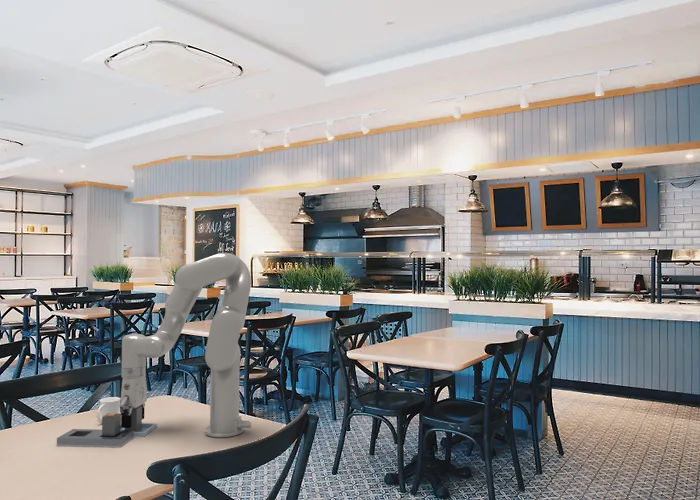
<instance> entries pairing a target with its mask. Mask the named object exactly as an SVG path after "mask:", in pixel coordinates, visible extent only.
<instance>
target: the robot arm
mask: <svg viewBox="0 0 700 500" xmlns="http://www.w3.org/2000/svg"><path fill="white" fill-rule="evenodd" d="M222 280H225V287H224V290H223V296H222V301H221V306H220V309H219V310H218V311H217V312H216V313H215V315H214V316H213V318H212V320H211V323H210V328H209V332H208V336H207V337H208V338H207V342H206V348H205V352H204V360H205V363H206V365H207V367H208V368H210V382H209V383H210V385H209V386H210V387H209V390H210V391H209V392H210V393H209V397H210V398H209V426H207V427H206V428H204V429H205V430H204V433H205V435H206V436H208V437H211V438H231V437H235V436H237V435H240V434H242V433H243V432H244V428H245V429H251V428H252V422H251V421H250V420H243V419H242V415H241V416H240V367H241V346H240V345H239V338H240V334H241V331H242V330H243V328H244V327H245V322H246V315H247V308H248V304H249V298H250V292H251V286H252V278H251V273H250V270H249V267H248V266H247V265H246V263H245V262H244V261H243V260H242V259H241V258H240V257H238V256H237V255H235V254H233V253H228V252H220V253H216V254H212V255H211V256H207V257H204V258H202V259H199V260H196V261H193V262H190V263H186V264H183V266H180V267H179V268H178V269H177V271H176V273H175V275H174V281H175V283H174V286H173V288H172V290H171V291H170V293H169V295H168V297H167V299H166V301H165V303H164V308H165V313H164V317H163V320H162V321H161V323H160V326H159V327H158V329H157V331H156V332H155V333H154V334H152V335H149V336H145V335H144V334H141V333H140V334H139V333H131V334H126V335H124V336H123V337H122V339H121V378H122V380H121V392H120V398H121V400H120V405H119V412H120V414H121V427H122V428H131V422H132V415H130V414H131V411H132V408H137V407H139V406H142V420H144V419H145V407H146V402H147V400H148V390H147V388H148V387H147V378H146V375H147V374H146V373H147V372H146V370H147V369H146V368H147V358H148V359H157V358H160V357H162V356H164V355H166V354H167V353H168V352H170V351H171V350H172V349H173V347H174V346H175V344H176V342H177V340H178V339H179V336H181V333H182V331H183V329H184V327H185V324H186V323H187V322H186V321H187V319H188V318H189V315H190V312H191V310H192V308H193V307H194V305H195V303H196V301H197V299H198V297H199V296H200V293H201V292H202V290H203V288H204V287H206V286H208V285H212V284H214V283H216V282H219V281H220V282H221V281H222ZM127 409H129V410H128V411H127Z"/></svg>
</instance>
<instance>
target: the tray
mask: <svg viewBox="0 0 700 500" xmlns="http://www.w3.org/2000/svg"><path fill="white" fill-rule="evenodd" d="M157 428H158V423H154V422H153V423H149V422H148V423H147V422H146V423H144V422H142V430H140V431H139V432H133V437H146V436H147V435H149V434H150V433H151V432H153V431H155V429H157ZM121 430H125V428H122V427H121Z"/></svg>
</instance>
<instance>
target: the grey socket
mask: <svg viewBox="0 0 700 500" xmlns="http://www.w3.org/2000/svg"><path fill="white" fill-rule="evenodd" d="M101 418H102V419H101V421H102V423H101V429H94V428H93V429H92V428H89V429H88V428H87V429H85V428H84V429H83V428H73V429H71V430H69V431H67V432H65V433H63V434H62V435H60V436H58V437H56V447H75V448H76V447H82V448H87V447H88V448H121V447H123V446H124V445H125V444H127V443H128V442H130V441H131V440H132V439H134V436H133V430H121V413H119V412H118V413H108V414H106V415H105V416H103V417H102V416H101Z"/></svg>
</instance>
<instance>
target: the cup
mask: <svg viewBox="0 0 700 500" xmlns="http://www.w3.org/2000/svg"><path fill="white" fill-rule="evenodd" d="M120 403H121V397H117V396H113V397H112V396H110V397H108V396H107V397H104V398H101V399H100V400H99V407H98V409H97V413H96V418H97V421H98V422H99V423H100V424H102V419H101V418H102V417H103V416H105V415H106V414H108V413H119V412H120V407H119V405H120ZM100 413H101V415H100Z"/></svg>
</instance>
